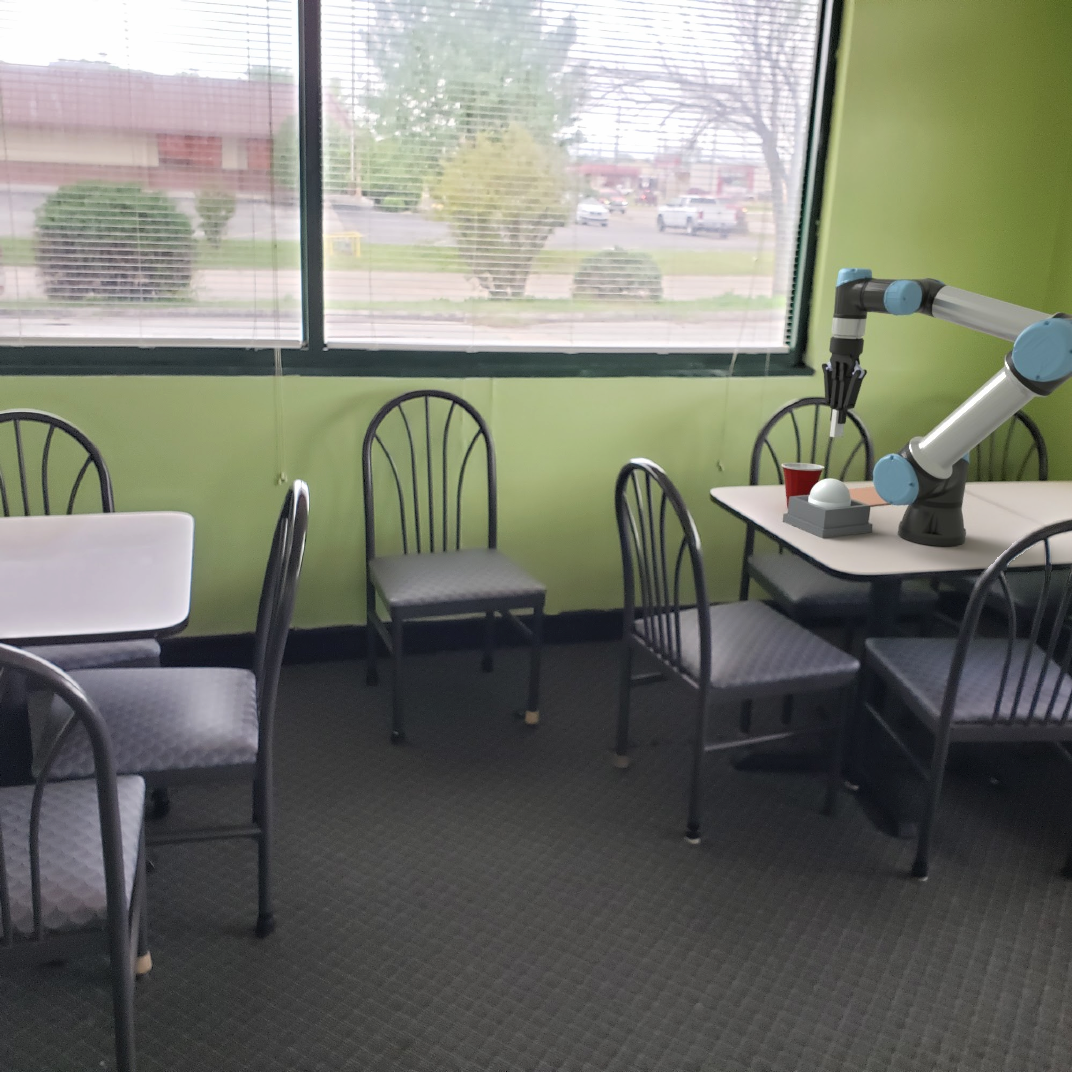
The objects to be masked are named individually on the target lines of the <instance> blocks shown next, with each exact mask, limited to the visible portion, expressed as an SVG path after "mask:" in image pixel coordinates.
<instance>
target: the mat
mask: <svg viewBox="0 0 1072 1072" xmlns="http://www.w3.org/2000/svg"><path fill="white" fill-rule="evenodd" d="M848 490H849V492H850V498H851V499H854V500H856V501H859V502H862V503H865V504H868V505H871V507H877V506H878V507H879V506H886V505H890V504H889V503H887V502H886V501H884V500H883V499H882V498H881V497H880V496H879V495H878V493H877V491H876V489H875V487H874V486H866V487H856V488H848Z"/></svg>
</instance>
